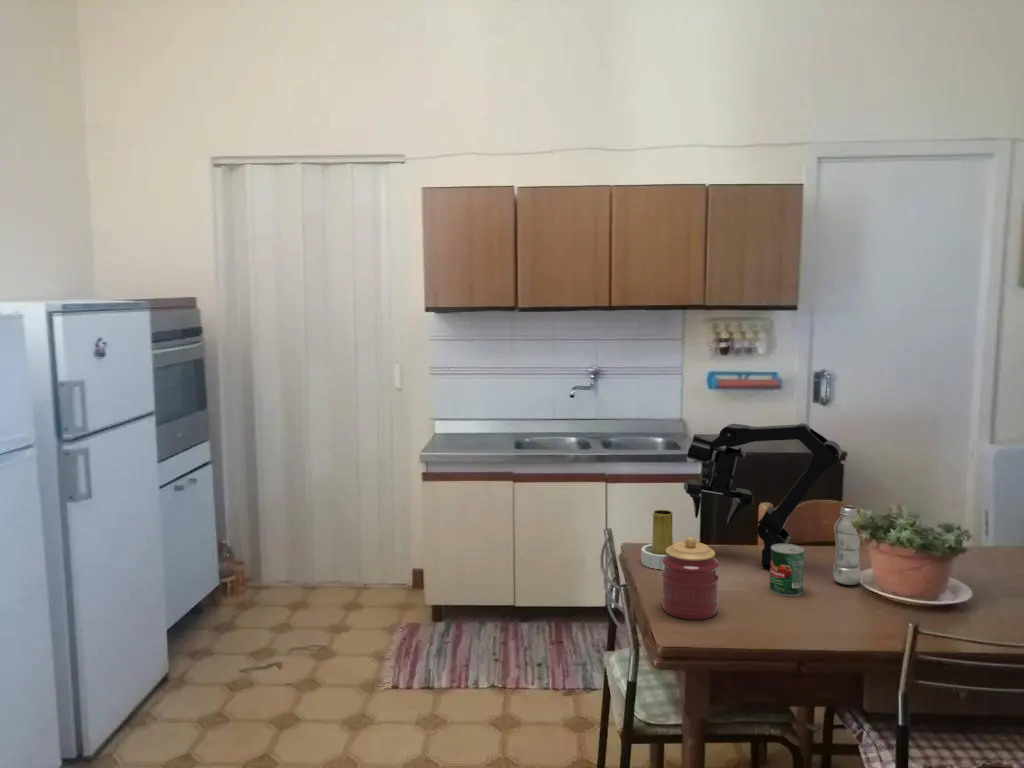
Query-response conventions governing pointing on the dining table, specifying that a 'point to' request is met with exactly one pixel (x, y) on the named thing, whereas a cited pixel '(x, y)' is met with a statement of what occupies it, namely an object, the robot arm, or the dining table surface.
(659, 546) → the vase
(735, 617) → the dining table surface
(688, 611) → the canister
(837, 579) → the plastic bottle
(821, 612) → the dining table surface
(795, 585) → the canned tomato
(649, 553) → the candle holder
